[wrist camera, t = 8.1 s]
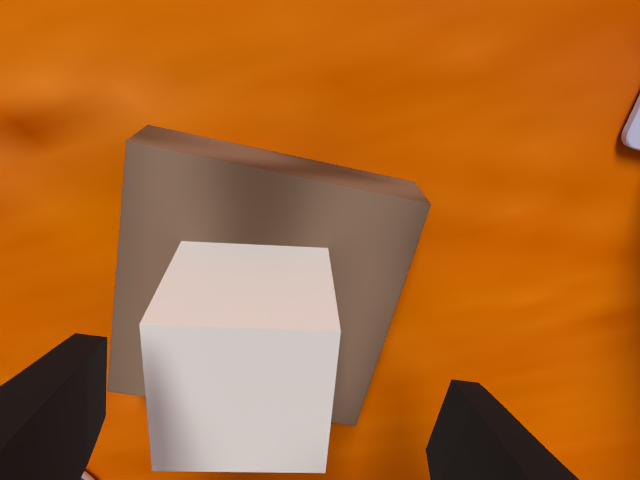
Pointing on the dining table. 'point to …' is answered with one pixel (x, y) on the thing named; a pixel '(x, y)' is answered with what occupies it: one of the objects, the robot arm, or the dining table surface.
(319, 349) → the off-white block
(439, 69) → the dining table surface
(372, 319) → the walnut block
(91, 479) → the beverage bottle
